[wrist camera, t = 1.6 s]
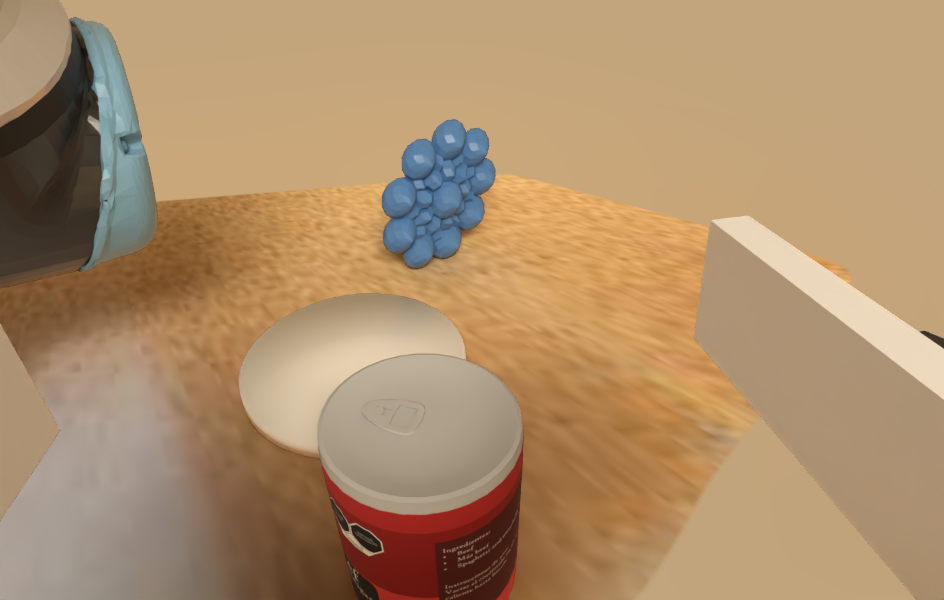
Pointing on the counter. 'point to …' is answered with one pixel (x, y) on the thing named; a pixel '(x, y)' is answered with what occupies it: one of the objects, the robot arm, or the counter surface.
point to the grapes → (437, 193)
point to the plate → (331, 358)
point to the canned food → (425, 478)
